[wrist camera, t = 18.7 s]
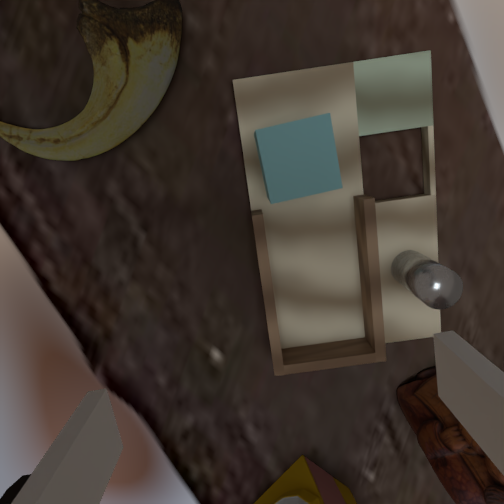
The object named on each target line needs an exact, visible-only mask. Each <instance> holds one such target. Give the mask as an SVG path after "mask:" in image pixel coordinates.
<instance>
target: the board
mask: <svg viewBox="0 0 504 504" xmlns="http://www.w3.org/2000/svg"><path fill="white" fill-rule="evenodd" d="M233 87H234V94H235V101H236V108H237V115H238V122H239V129H240V136H241V143H242V150H243V156H244V163H245V170H246V177H247V184H248V191H249V198H250V205H251V211H252V210H259V209H262V213H263V218H264V226H265V233H266V240H267V248H268V255H269V262H270V270H271V277H272V284H273V292H274V299H275V306H276V313H277V321H278V328H279V335H280V343H281V349H284V348H291V347H298V346H306V345H313V344H320V343H327V342H335V341H342V340H349V339H356V338H364V337H365V331H364V319H363V307H362V295H361V283H360V271H359V259H358V247H357V235H356V223H355V211H354V199H353V196H357V195H363V182H362V169H361V156H360V143H359V136H365V135H371V134H378V133H385V132H392V131H399V130H406V129H412V128H419V127H421V134H422V157H423V180H424V194H419V195H412V196H405V197H398V198H391V199H384V200H377V201H375V208H376V222H377V236H378V250H379V264H380V278H381V292H382V306H383V320H384V334H385V343H391V342H398V341H405V340H413V339H420V338H427V337H434V336H433V334H435V333H441V322H440V310H438V309H433V308H430V307H429V306H427V305H426V304H425V303H423V302H422V301H421V300H420V299H418V298H417V297H416V296H415V295H414V294H412V293H411V292H410V291H409V290H407V289H406V288H405V287H404V286H403V285H401V284H400V283H399V282H398V281H396V280H395V279H394V277H393V275H392V272H391V265H392V262H393V260H394V259H395V257H396V256H397V255H398V254H400V253H401V252H403V251H407V250H414V251H417V252H419V253H421V254H423V255H425V256H427V257H428V258H430V259H432V260H434V261H436V262H438V239H437V212H436V184H435V157H434V129H433V101H432V74H431V50H430V51H423V52H416V53H410V54H403V55H396V56H390V57H383V58H376V59H370V60H363V61H356V62H350V63H343V64H336V65H330V66H323V67H316V68H310V69H303V70H296V71H290V72H283V73H276V74H270V75H263V76H256V77H250V78H243V79H236V80H233ZM326 113H330V116H331V121H332V127H333V133H334V139H335V145H336V151H337V157H338V163H339V169H340V175H341V180H342V186H343V188H341V189H336V190H332V191H328V192H323V193H319V194H314V195H310V196H305V197H301V198H297V199H292V200H288V201H283V202H279V203H274V204H271V203H270V201H269V200H268V198H267V194H266V189H265V184H264V180H263V175H262V170H261V166H260V161H259V156H258V152H257V147H256V142H255V138H254V132H255V130H257V129H262V128H266V127H270V126H275V125H279V124H283V123H288V122H292V121H296V120H300V119H305V118H309V117H313V116H318V115H322V114H326Z"/></svg>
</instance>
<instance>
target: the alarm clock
mask: <svg viewBox="0 0 504 504" xmlns="http://www.w3.org/2000/svg"><path fill="white" fill-rule="evenodd" d="M254 504H357V503H356V501H355V499H354V497H353V495H352V493H351V491H350V490H349V488H348V487H346V486H345V485H344V484H342V483H341V482H339V481H338V480H337V479H335V478H334V477H332V476H331V475H330V474H328V473H327V472H326V471H324V470H323V469H321V468H320V467H319V466H317V465H316V464H315V463H313V462H312V461H310V460H309V459H308V458H306V457H304V455H302V456H301V457H300V458H299V459H298V460H297V461H296V462H295V463H294V464H293V465H292V466H291V467H290V468H289V469H288V470H287V471H286V472H285V473H284V474H283V475H282V476H281V477H280V478H279V479H278V480H277V481H276V482H275V483H274V484H273V485H272V486H271V487H270V488H269V489H268V490H267V491H266V492H265V493H264V494H263V495H262V496H261V497H260V498H259V499H258V500H257V501H256V502H255V503H254Z"/></svg>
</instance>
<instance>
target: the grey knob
mask: <svg viewBox="0 0 504 504" xmlns="http://www.w3.org/2000/svg"><path fill="white" fill-rule="evenodd" d="M391 272H392V275H393V277H394V279H395V280H396V281H398V282H399V283H400V284H401V285H403V286H404V287H405V288H406V289H407V290H409V291H410V292H411V293H412V294H414V295H415V296H416V297H417V298H418V299H420V300H421V301H422V302H423V303H425V304H426V305H427V306H429V307H430V308H433V309H438V310H440V309H446V308H449V307H451V306H452V305H454V304H455V303H456V302H457V301H458V300H459V298H460V297H461V294H462V291H463V283H462V280H461V278H460V276H459V275H458V274H457V273H455V272H454V271H452V270H450V269H449V268H447V267H445V266H443V265H441V264H439V263H438V262H436V261H434V260H432V259H430V258H428V257H427V256H425V255H423V254H421V253H419V252H417V251H414V250H407V251H403V252H401V253H400V254H398V255H397V256H396V257H395V259H394V260H393V262H392V265H391Z"/></svg>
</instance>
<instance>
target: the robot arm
mask: <svg viewBox="0 0 504 504" xmlns="http://www.w3.org/2000/svg"><path fill="white" fill-rule="evenodd" d="M433 336H434V348H435V361H436V373H437V386H438V396H439V397H440V398H441V400H442V401H443V402H444V403H445V405H446V406H447V407H448V408H449V409H450V411H451V412H452V413H453V414H454V416H455V417H456V418H457V419H458V420H459V422H460V423H461V424H462V425H463V427H464V428H465V429H466V430H467V431H468V433H469V434H470V435H471V436H472V438H473V439H474V440H475V441H476V442H477V444H478V445H479V446H480V447H481V449H482V450H483V451H484V452H485V453H486V455H487V456H488V457H489V458H490V460H491V461H492V462H493V463H494V464H495V466H496V467H497V468H498V469H499V471H500V472H501V473H502V474H503V475H504V372H503V371H501V370H500V369H499V368H498V367H497V366H495V365H494V364H493V363H492V362H490V361H489V360H488V359H487V358H486V357H484V356H483V355H482V354H481V353H480V352H478V351H477V350H476V349H475V348H473V347H472V346H471V345H470V344H469V343H467V342H466V341H465V340H464V339H462V338H461V337H460V336H459V335H458V334H456V333H455V332H454V331H447V332H441V333H435V334H433ZM122 449H123V444H122V441H121V437H120V434H119V431H118V427H117V423H116V420H115V416H114V413H113V409H112V407H111V402H110V399H109V395H108V392H107V389H102V390H96V391H89V392H87V394H86V395H85V397H84V398H83V400H82V401H81V403H80V404H79V406H78V407H77V408H76V410H75V412H74V413H73V414H72V416H71V417H70V419H69V420H68V422H67V423H66V425H65V426H64V427H63V429H62V430H61V432H60V433H59V435H58V436H57V438H56V439H55V441H54V442H53V443H52V445H51V447H50V448H49V450H48V451H47V452H46V454H45V455H44V457H43V458H42V460H41V461H40V462H39V464H38V465H37V467H36V468H35V470H34V471H33V473H32V474H30V475H24V476H22V477H21V478H20V479H18V480H17V481H16V482H15V483H14V484H13V485H12V486H11V487H9V488H8V489H7V490H6V492H5V493H4V495H3V496H2V497H1V499H0V504H99V503H100V501H101V498H102V496H103V494H104V491H105V489H106V487H107V484H108V482H109V480H110V477H111V475H112V473H113V470H114V468H115V466H116V463H117V461H118V459H119V456H120V454H121V451H122Z"/></svg>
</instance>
